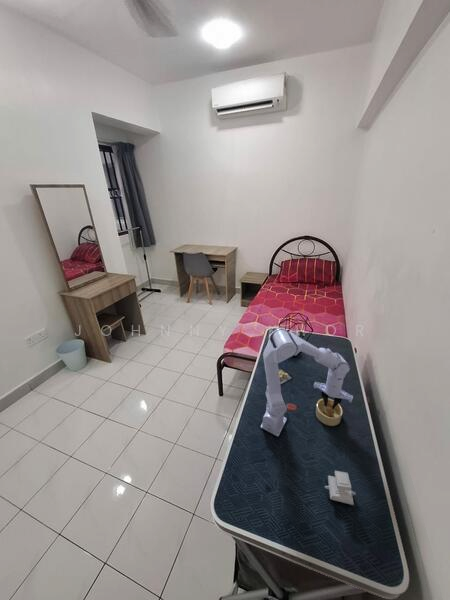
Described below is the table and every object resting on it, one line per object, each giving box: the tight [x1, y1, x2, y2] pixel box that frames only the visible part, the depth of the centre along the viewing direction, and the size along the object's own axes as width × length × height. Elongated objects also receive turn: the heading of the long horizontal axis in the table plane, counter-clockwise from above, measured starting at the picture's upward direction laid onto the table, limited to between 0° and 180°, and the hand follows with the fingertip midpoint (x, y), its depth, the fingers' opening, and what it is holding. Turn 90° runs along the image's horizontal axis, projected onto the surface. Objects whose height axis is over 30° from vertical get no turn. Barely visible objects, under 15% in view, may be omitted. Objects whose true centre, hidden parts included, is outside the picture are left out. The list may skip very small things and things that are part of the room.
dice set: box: [279, 368, 292, 385], centre depth 124 cm, size 5×5×2 cm
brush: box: [323, 402, 335, 417], centre depth 101 cm, size 4×4×6 cm
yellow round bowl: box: [315, 398, 343, 427], centre depth 101 cm, size 10×10×4 cm
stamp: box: [324, 470, 357, 506], centre depth 75 cm, size 9×7×8 cm
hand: (329, 406), depth 100 cm, fingers closed on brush, 2 cm apart
